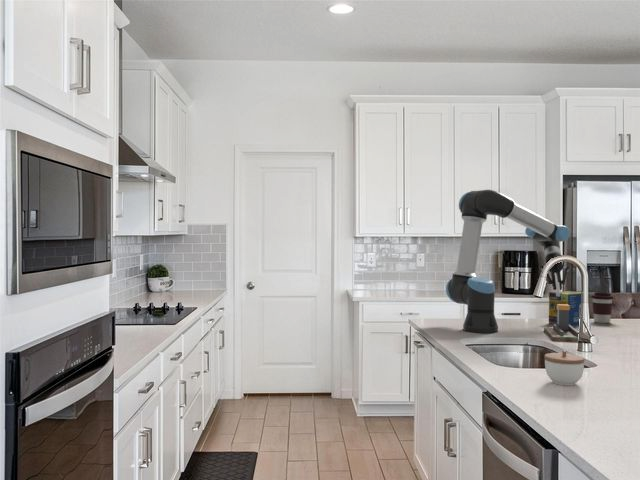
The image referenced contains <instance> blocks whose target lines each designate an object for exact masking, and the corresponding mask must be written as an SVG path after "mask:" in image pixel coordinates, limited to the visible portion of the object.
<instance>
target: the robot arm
mask: <svg viewBox="0 0 640 480" xmlns="http://www.w3.org/2000/svg"><path fill="white" fill-rule="evenodd" d="M458 209H459V210H460V213H461V219H462V220H463V227H462V233H461V240H460V245H459V251H458V260H457V265H456V266H457V267H456V270H455V271H454V272H453V273H452V276H451V279H449V281H447V284H446V286H445V292H446V295H447V296H446V297H448V298H449V300H450V301H452V302H454V303H456V304H459V305H460V304H461V305H467V308H466V309H467V313H466V316H465V318H464V322H463V325H462V326H463V327H462V329H463V331H466V332H470V333H477V334H493V333H498V331H499V325H498V321H497V319H496V317H495V292H496V289H495V283H494V281H493V280H492V279H489V278H483V277H478V276H477V275H476V269H477V263H478V255H479V248H480V243H481V235H482V229H483V225H484V223H485V222H487V219H488V215H490V216H497V217H500V218H502V219H505V218H507V219H509V220H511V221H513V222H515V223H517V224H519V225H521V226H522V227H524V228H525V230H524V232H525V235H526V236H528V238H530V239H531V240H533V241H534V242H536V243H537V244H539V245H540V246H541V247H543V252H544V258H545V259H544V260H545V264H546V263H547V262H548V261H549V260H550V259H551V258H554V257H557V256H561V257H562V252H561V248H560V247H561V246H560V245H561V244H560V242H567V240H568V239H569V238H570V236H571V232H570V228H568V226H566V225H560V224H559V225H558V224H556V223H555V222H552V221H550V220H549V219H546V218H544V217H542V216H540V215H539V214H538V213H537V214H536V213H535V212H533V211H532V210H529V209H527V208H526V207H523V206H521V205H519V204H517V203H516V202H515V200H514V199H513V198H511V197H509V196H507V195H505V194H504V193H501V192H499V191H495V190H493V189H483V190H481V189H480V190H471V191H468V192H466V193H464V194H462V196H461V197H460V199H459V201H458ZM544 266H545V265H541V267H540V271H541V272H542V269H543V267H544ZM562 270H563V277H562V276H561V275H562V274H561V272H562ZM569 270H570V266H565V265H564V263H563V261H562V262H560V263H557V264H555V265H554V266H553V267H552V268H551V269H550V270H548V271H549V272H550V274H549V273H548V274H547V280H546V281H547V284H548V285H551V286H552V289H553V291H555V292H556V296H558V297H560V293H561V292H560V291H562V289H563V285H565V283H566V280H567V279H566V278H567V274H568V273H569ZM555 274H556V275H555ZM556 277H557V278H556ZM556 279H557V281H556Z"/></svg>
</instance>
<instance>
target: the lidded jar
mask: <svg viewBox="0 0 640 480" xmlns="http://www.w3.org/2000/svg"><path fill="white" fill-rule="evenodd" d="M544 366H545V367H544V368H545V373H546V375H547V376H548V378H549V379H550V380H551V381H552V383H553V384H556V385H559V386H565V387H566V386H568V387H571V386H575V385H576V384H577V383H578V382H579V381H580V380H581V378H582V377H583V374H584V369H585V357H584V356H582V355H579V354H573V353H567V350H562V351H561V352H550V353H549V352H547V353H545V354H544Z"/></svg>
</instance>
